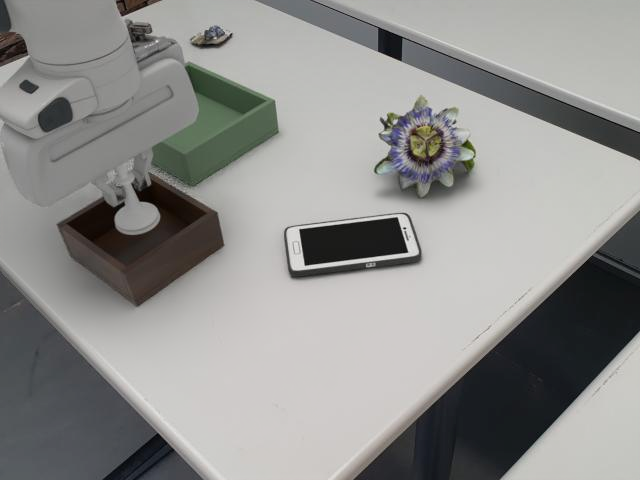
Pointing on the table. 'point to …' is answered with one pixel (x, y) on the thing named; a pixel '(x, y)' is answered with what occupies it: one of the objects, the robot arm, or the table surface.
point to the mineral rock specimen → (210, 36)
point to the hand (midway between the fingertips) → (128, 194)
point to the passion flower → (425, 147)
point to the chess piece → (133, 207)
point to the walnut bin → (143, 241)
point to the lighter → (139, 33)
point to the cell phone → (351, 244)
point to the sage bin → (216, 127)
